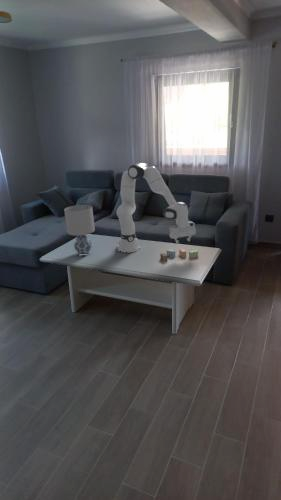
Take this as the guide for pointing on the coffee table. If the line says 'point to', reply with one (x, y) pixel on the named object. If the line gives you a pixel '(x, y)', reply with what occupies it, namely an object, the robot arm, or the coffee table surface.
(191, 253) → the olive brick
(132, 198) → the robot arm
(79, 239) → the lamp
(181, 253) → the terracotta brick
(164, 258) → the walnut brick
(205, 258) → the coffee table surface
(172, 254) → the slate blue brick
